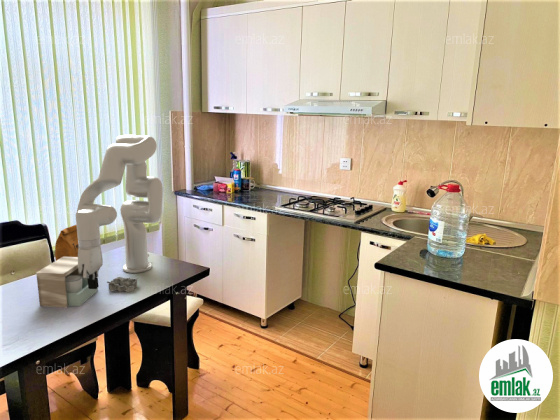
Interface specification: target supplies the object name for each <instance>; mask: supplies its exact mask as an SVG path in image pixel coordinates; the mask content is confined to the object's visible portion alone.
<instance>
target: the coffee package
mask: <svg viewBox="0 0 560 420" xmlns="http://www.w3.org/2000/svg"><path fill="white" fill-rule="evenodd" d="M78 249H79V246H78V235H77V225H76V224H74V225H71V226H68V227H66V228H63V229H62V230H60V232H59V234H58V237H57V238H56V242H55V245H54V255H55V261H56V260H58V259H60V258H62V257H78Z"/></svg>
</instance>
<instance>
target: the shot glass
mask: <svg viewBox="0 0 560 420" xmlns="http://www.w3.org/2000/svg"><path fill="white" fill-rule="evenodd" d="M65 283H66V293H78V292H80V291H81V290H82V276H80V275H71V276H67V277H65Z"/></svg>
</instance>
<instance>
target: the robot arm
mask: <svg viewBox="0 0 560 420" xmlns="http://www.w3.org/2000/svg"><path fill="white" fill-rule="evenodd" d="M157 147H158V146H157V140H155V138H154V137H152V136H150V135H136V134H124V135H123V134H122V135H118V136H117V137H116V139H115V143H111V144H110V145H108V147H107V148H106V150H105V152H104V153H105V154H104V156H103V161H102V164H101V168H100V170H99V175H98V177H97V178H96V179H95V180H93V181H92V182H90V184H89V185H88V186H87V187H86V188H85V189H84V190H83V191H82V193H81V196H80V198H79V202H78V204H77V208H76V212H75V223H76V224H75V225H77V235H78V246H79V249H78V272H79V274H82V273H83V278H84V279H87V280H88V288H89V289H97V288H99V280H98V279H99V271H100V270H101V267H103V253H102V248H101V246H102V245H101V244H102V243H101V233H100V227H103V226H107V225H111V224H113V223H114V222H115V221H116V219H117V217H118V213H117V209H116V208H115V207H114V206H112V205H108V204H96V203H94V202H95V200H96V199H97V198H98V197H99V196H100V195H101V194H103V193H105V192H107V191H109V190H112V189H114V188H116V187H118V186H120V185H121V184H122V180H123V177H124V173H125V193H126V195H127V196H129V197H132V198H140V199H141V198H142V199H147V201H146V200H138V199H137V200H136V199H135V200H134V199H130V200H126V201H123V203H122V204H121V206H120V217H121V220H122V223H123V225H122V226H123V233H124V236H123V237H124V253H125V264H124V265H123V266H122V270H123V272H125V273H130V274H131V273H133V274H137V273H144V272H147V271H149V270H151V269H152V267H153V265H152V263H151V262H149V257H150V255H149V253H148V251H149V249H148V237H147V236H148V233H147V231H148V230H147V228H146V226H145V224H156V223H158V222H159V221H160V220H161V218H162V212H163V192H164V191H163V190H164V187H163V184H162V180H160V178H159V177H156V176H147V174H148V173H147V171H148V170H147V169H148V168H147V162H146V161H148V159H150V158H151V157H153V156H154V154H156V151H157ZM125 170H126V171H125Z"/></svg>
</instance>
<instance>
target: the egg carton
mask: <svg viewBox="0 0 560 420" xmlns="http://www.w3.org/2000/svg"><path fill="white" fill-rule="evenodd" d="M138 281H139V278H138V277H136V278H135V277H134V278H131V277H122V276H118V277H116V278H114V279H112V280H111V281H106V283H107V284H108V286H107V287H108V291H110V292H113V291H117V292H122V291H125V292H126V293H130V292H133V291H134V290H135V289H136V288H138Z"/></svg>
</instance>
